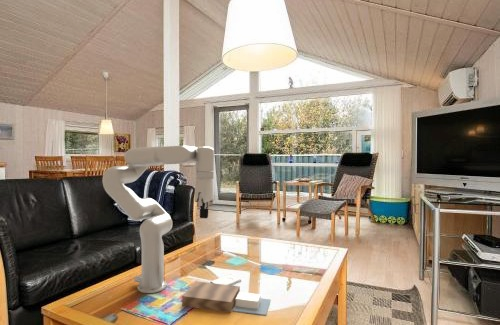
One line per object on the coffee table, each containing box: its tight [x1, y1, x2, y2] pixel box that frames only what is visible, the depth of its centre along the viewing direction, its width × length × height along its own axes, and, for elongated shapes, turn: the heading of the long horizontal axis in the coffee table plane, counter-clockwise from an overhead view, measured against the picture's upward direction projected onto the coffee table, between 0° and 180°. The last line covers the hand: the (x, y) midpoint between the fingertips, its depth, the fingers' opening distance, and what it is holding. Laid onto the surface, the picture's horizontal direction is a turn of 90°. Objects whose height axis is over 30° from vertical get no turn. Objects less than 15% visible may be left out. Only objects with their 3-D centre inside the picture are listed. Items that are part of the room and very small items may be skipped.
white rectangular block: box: [235, 291, 262, 309], centre depth 120 cm, size 9×6×3 cm, turn 78°
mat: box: [232, 297, 271, 317], centre depth 119 cm, size 13×12×1 cm
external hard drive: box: [209, 274, 242, 286], centre depth 141 cm, size 2×8×12 cm
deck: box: [181, 281, 241, 313], centre depth 123 cm, size 20×14×4 cm
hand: (203, 217), depth 128 cm, fingers closed
